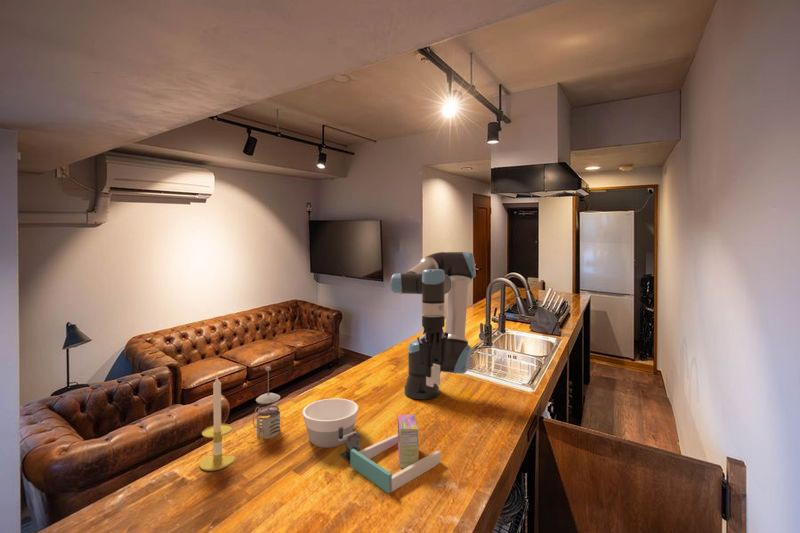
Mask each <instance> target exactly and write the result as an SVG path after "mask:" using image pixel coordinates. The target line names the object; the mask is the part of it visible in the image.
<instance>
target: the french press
mask: <svg viewBox="0 0 800 533" xmlns="http://www.w3.org/2000/svg"><path fill="white" fill-rule="evenodd" d="M264 370H265V371H267V392H266V393H264V394H261V395H259V396H258V397H256V399H255V401H256V403H257V404H260V405H265V406H261V407H260V406H257V407H256V408H255V410H254V413H253V416H252V424H253V426H254V428H255V429H256V436H257V438H258V439H263V440H264V439H265V440H266V439H271V438H274V437H277V436H278V435H279V434H280V431H279V430H281V412H280V407H279V406H276V405H270V404H273V403H275V402H277V401H279V400H280V399H281V396H280V394H277V393H274V392H269V391H270V390H269V388H270V387H269V386H270V385H269V383H270V382H269V381H270V380H269V378H270V376H269V374H270V373H269V371H271V370H272V367H271V366H270V365H269V366H266V367H265V369H264ZM266 404H267V405H266ZM257 409H258V410H257ZM256 411H257V414H256ZM255 414H256V425H255V418H254V417H255ZM273 432H274V433H273Z"/></svg>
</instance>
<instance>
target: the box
mask: <svg viewBox="0 0 800 533" xmlns="http://www.w3.org/2000/svg"><path fill="white" fill-rule="evenodd" d="M396 418H397V434H398V443H397V452H398V459H399V466H400V468H401V469H404V468H406V467H408V466H410V465H412V464H413V463H415V462H417V461H419V460H420V458H419V456H420V455H419V452H420V451H419V449H420V448H419V446H420V445H419V440H420V439H419V434H420V432H419V430H420V429H419V426H418V423H417V420H416V417H415V414H399V415H397V417H396Z"/></svg>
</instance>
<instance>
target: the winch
mask: <svg viewBox="0 0 800 533" xmlns="http://www.w3.org/2000/svg"><path fill="white" fill-rule="evenodd" d="M344 440H346V442H345V451H344V452H342V453H340V454H339V456H340V457H341V458H343V459H344V460H345V461H346V462H347V463H348V464H350V450H352V449H355V450H356V451H360V450H361V434H360V433H359V432H357V431H356V430H353V432H351V433H348V434H347V435H344V436H343V427H339V428H338V441H339V442H341V441H344Z"/></svg>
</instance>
